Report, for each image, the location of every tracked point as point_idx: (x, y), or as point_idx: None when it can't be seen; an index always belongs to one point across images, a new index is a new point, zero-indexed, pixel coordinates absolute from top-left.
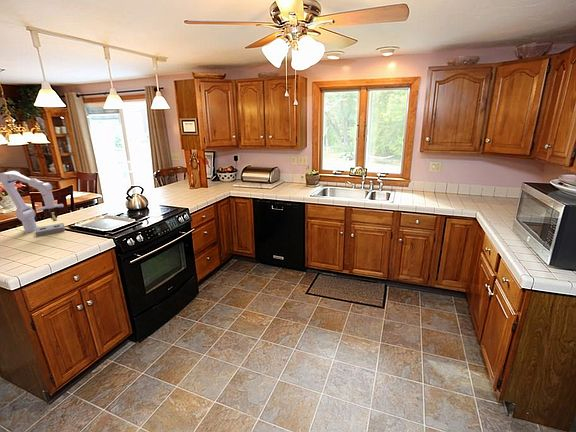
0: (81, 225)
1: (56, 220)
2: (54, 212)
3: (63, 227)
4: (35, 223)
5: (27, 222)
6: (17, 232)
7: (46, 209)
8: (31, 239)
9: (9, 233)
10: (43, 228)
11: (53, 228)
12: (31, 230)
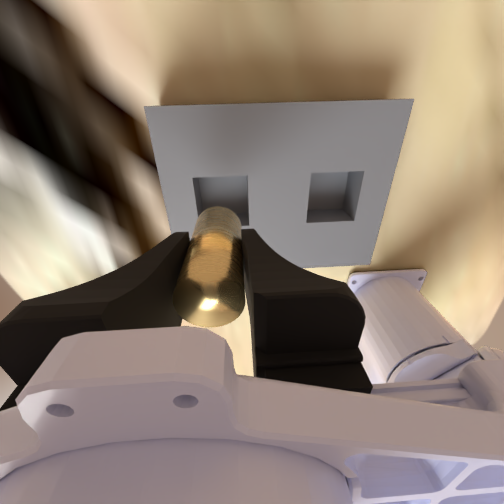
0: (45, 207)
1: (199, 215)
2: (181, 312)
3: (147, 113)
4: (368, 330)
5: (438, 327)
6: (442, 305)
7: (316, 375)
8: (441, 24)
9: (475, 311)
10: (326, 220)
11: (245, 132)
12: (386, 278)
